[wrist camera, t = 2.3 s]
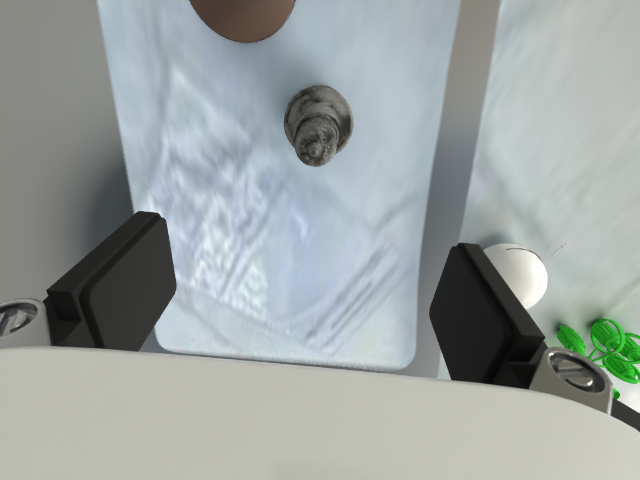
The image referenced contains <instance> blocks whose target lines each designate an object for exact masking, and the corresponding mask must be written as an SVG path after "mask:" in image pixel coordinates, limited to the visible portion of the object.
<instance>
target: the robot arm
mask: <svg viewBox="0 0 640 480" xmlns="http://www.w3.org/2000/svg"><path fill="white" fill-rule="evenodd" d="M46 291H47V293H48V295H49V296H48V297H47V298H46V299H45V300H43V301H42V302H41V301H39V300H38V299H33V298H18V299H12V300H8V301H4V302H1V303H0V480H640V413H638V412H636V411H635V410H633V409H631V408H630V407H628V406H626V405H625V404H623V403H621V402H619V401H618V400H616V399H614V398H613V384H612V382H611V380H610V379H609V377H608V375H607V374H606V373H605V372H604V371H603V370H602V369H601V368H600V367H599V366H598V365H596V364H595V363H594V362H593V361H591V360H590V359H588V358H586V357H585V356H583V355H581V354H579V353H577V352H575V351H572V350H569V349H565V348H561V347H552V348H548V347H547V346H546V344H545V343H544V341H543V340H544V338H545V336H544V335H543V333H542V332H541V330H540V329H539V328H538V326H537V325H536V323H535V322H534V321H533V319H532V318H531V316H530V315H529V314H528V312H527V311H526V310H525V308H524V307H523V305H522V304H521V303H520V301H519V300H518V298H517V297H516V296H515V294H514V293H513V291H512V290H511V289H510V287H509V286H508V285H507V283H506V282H505V280H504V279H503V278H502V276H501V275H500V273H499V272H498V271H497V269H496V268H495V267H494V265H493V264H492V262H491V261H490V260H489V258H488V257H487V255H486V254H485V253H484V251H483V250H482V248H481V247H480V246H479V245H478V244H469V243H458V245H457V246H456V247H455V246H453V247H452V248H451V250H450V252H449V255H448V258H447V261H446V263H445V267H444V269H443V272H442V275H441V278H440V281H439V283H438V286H437V289H436V292H435V295H434V298H433V301H432V303H431V306H430V311H429V315H430V320H431V323H432V326H433V328H434V331H435V334H436V337H437V340H438V342H439V346H440V348H441V351H442V354H443V357H444V360H445V363H446V366H447V368H448V371H449V374H450V377H451V380H444V379H435V378H424V377H413V376H403V375H393V374H382V373H372V372H362V371H351V370H341V369H330V368H319V367H308V366H297V365H286V364H275V363H264V362H253V361H240V360H229V359H219V358H206V357H195V356H183V355H172V354H159V353H148V352H138V351H139V349H140V348H141V346H142V345H143V343H144V342H145V340H146V338H147V337H148V335H149V334H150V332H151V330H152V329H153V327H154V326H155V324H156V323H157V321H158V319H159V318H160V316H161V315H162V313H163V312H164V310H165V308H166V307H167V305H168V304H169V302H170V300H171V299H172V297H173V296H174V294H175V291H176V278H175V272H174V266H173V259H172V253H171V247H170V241H169V235H168V229H167V223H166V220H165V218H161V216H160V214H159V213H154V212H144V211H138V212H137V213H135V214H134V215H133V216H132V217H131V218H130V219H129V220H127V221H126V222H125V223H124V224H123V225H122V226H120V227H119V228H118V229H117V230H116V231H115V232H113V233H112V234H111V235H110V236H109V237H108V238H106V239H105V240H104V241H103V242H102V243H101V244H100V245H98V246H97V247H96V248H95V249H94V250H93V251H91V252H90V253H89V254H88V255H87V256H86V257H84V259H82V260H81V261H80V262H79V263H78V264H76V265H75V266H74V267H73V268H72V269H71V270H69V271H68V272H67V273H66V274H65V275H64V276H63V277H61V278H60V279H59V280H58V281H57V282H56V283H54V284H53V285H52V286H51V287H50V288H49V289H47V290H46Z"/></svg>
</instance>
